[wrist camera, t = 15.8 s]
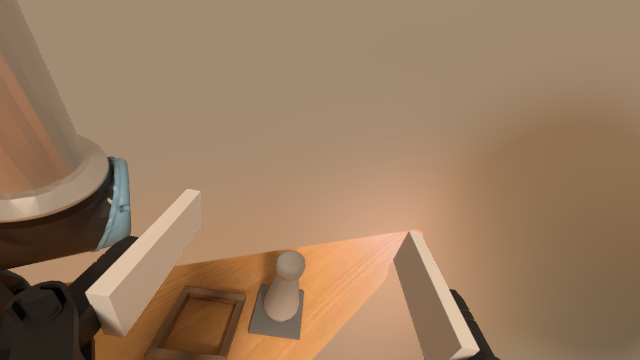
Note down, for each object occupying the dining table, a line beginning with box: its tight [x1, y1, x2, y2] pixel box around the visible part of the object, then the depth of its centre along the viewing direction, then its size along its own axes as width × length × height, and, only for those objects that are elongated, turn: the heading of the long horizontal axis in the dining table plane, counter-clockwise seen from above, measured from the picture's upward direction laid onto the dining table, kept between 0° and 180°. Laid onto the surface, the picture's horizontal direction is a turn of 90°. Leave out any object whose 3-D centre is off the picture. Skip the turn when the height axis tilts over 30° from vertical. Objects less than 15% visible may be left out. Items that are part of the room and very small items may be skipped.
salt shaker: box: [264, 250, 305, 323], centre depth 36 cm, size 6×6×13 cm
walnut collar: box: [144, 286, 246, 360], centre depth 35 cm, size 10×10×2 cm
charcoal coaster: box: [248, 284, 304, 340], centre depth 39 cm, size 8×8×1 cm
